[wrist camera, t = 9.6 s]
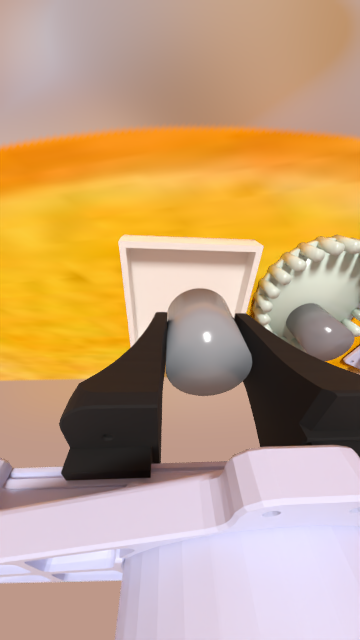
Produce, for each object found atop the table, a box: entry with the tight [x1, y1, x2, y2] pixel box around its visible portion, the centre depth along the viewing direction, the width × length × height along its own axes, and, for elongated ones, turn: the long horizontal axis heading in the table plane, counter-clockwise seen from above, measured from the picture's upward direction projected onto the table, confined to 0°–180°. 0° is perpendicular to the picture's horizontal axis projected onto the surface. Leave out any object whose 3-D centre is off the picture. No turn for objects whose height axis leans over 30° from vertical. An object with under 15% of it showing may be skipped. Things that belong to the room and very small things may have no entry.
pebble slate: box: [166, 288, 252, 396], centre depth 11 cm, size 4×4×4 cm
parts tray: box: [119, 235, 264, 347], centre depth 20 cm, size 12×12×2 cm
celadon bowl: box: [252, 235, 360, 353], centre depth 21 cm, size 12×12×3 cm
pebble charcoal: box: [286, 303, 354, 361], centre depth 21 cm, size 4×4×4 cm
